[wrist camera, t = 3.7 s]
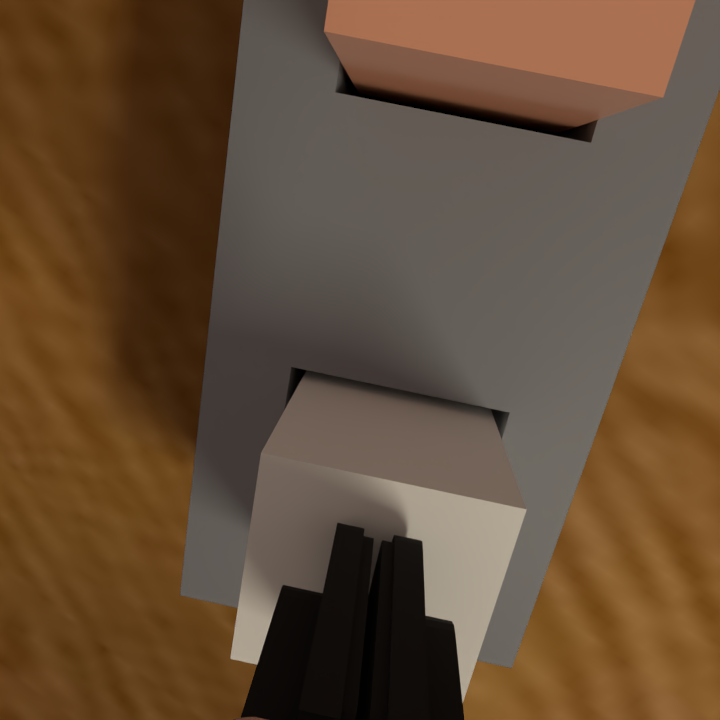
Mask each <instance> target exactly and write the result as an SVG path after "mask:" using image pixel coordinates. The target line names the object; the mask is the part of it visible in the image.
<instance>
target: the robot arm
mask: <svg viewBox="0 0 720 720" xmlns="http://www.w3.org/2000/svg"><path fill="white" fill-rule="evenodd" d="M373 543H374V538H370V537H365V536H364V528H360V527H356V526H351V525H346V524H342V523H337V527H336V532H335V536H334V541H333V546H332V551H331V556H330V561H329V565H328V570H327V575H326V580H325V585H324V589H323V593H319V592H314V591H310V590H305V589H300V588H296V587H291V586H286V585H283V586H282V588H281V591H280V594H279V597H278V600H277V603H276V607H275V610H274V613H273V616H272V619H271V623H270V626H269V629H268V632H267V635H266V639H265V642H264V645H263V648H262V651H261V655H260V658H259V661H258V664H257V667H256V671H255V674H254V677H253V680H252V684H251V687H250V690H249V693H248V696H247V700H246V703H245V706H244V709H243V712H242V716H241V718H237V719H234V720H464V713H463V703H462V694H461V684H460V674H459V664H458V655H457V645H456V635H455V628H454V624H453V622H452V621H448V620H444V619H439V618H435V617H430V616H425V590H424V564H423V543H422V541H421V540H417V539H412V538H407V537H403V536H398V535H394V536H393V539H392V542H389V541H384V540H382V542H381V545H380V549H379V554H378V558H377V562H376V566H375V570H374V574H373V579H372V583H371V587H370V591H369V584H370V574H371V563H372V553H373ZM368 594H369V595H368Z"/></svg>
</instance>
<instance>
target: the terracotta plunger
mask: <svg viewBox="0 0 720 720" xmlns="http://www.w3.org/2000/svg"><path fill="white" fill-rule="evenodd" d="M694 3H695V0H328V7H327V13H326V20H325V27H324V33H325V34H326V36H327V38H328V40H329V41H330V43H331V45H332V47H333V49H334V50H335V52H336V54H337V56H338V57H339V59H340V61H341V63H342V65H343V66H344V68H345V70H346V72H347V73H348V75H349V77H350V79H351V80H352V82H353V84H354V86H355V88H356V89H357V91H358V93H359V94H361V95H366V96H371V97H376V98H382V99H387V100H392V101H397V102H402V103H407V104H412V105H417V106H422V107H427V108H432V109H437V110H442V111H447V112H452V113H458V114H463V115H468V116H473V117H478V118H483V119H488V120H493V121H498V122H503V123H508V124H513V125H518V126H523V127H529V128H534V129H539V130H544V131H549V132H554V133H560V132H563V131H566V130H569V129H572V128H575V127H578V126H581V125H584V124H587V123H589V122H592V121H595V120H598V119H601V118H604V117H607V116H610V115H613V114H616V113H619V112H622V111H625V110H628V109H631V108H634V107H637V106H640V105H643V104H646V103H649V102H652V101H655V100H657V99H660V98H663V97H664V94H665V91H666V88H667V85H668V82H669V79H670V76H671V73H672V70H673V67H674V64H675V61H676V58H677V55H678V52H679V49H680V46H681V43H682V40H683V37H684V34H685V30H686V27H687V24H688V21H689V18H690V15H691V12H692V9H693V6H694Z"/></svg>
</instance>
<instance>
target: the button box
mask: <svg viewBox="0 0 720 720" xmlns="http://www.w3.org/2000/svg"><path fill="white" fill-rule="evenodd" d="M327 7H328V0H244V2H243V11H242V21H241V30H240V39H239V49H238V58H237V67H236V77H235V86H234V95H233V105H232V114H231V123H230V133H229V142H228V152H227V161H226V170H225V180H224V189H223V198H222V208H221V217H220V226H219V236H218V245H217V254H216V264H215V273H214V283H213V292H212V301H211V311H210V320H209V329H208V339H207V348H206V357H205V367H204V376H203V385H202V395H201V404H200V413H199V423H198V432H197V442H196V451H195V460H194V470H193V479H192V488H191V498H190V507H189V516H188V526H187V535H186V544H185V554H184V563H183V573H182V582H181V591H180V595H181V596H185V597H190V598H195V599H199V600H204V601H208V602H213V603H217V604H222V605H226V606H231V607H236V608H238V604H239V597H240V590H241V584H242V577H243V570H244V564H245V557H246V550H247V543H248V537H249V530H250V523H251V517H252V510H253V503H254V496H255V490H256V483H257V476H258V470H259V463H260V456H261V452H262V450H263V448H264V447H265V445H266V443H267V441H268V439H269V437H270V436H271V434H272V432H273V430H274V428H275V427H276V425H277V423H278V421H279V419H280V417H281V416H282V414H283V412H284V410H285V408H286V407H287V405H288V403H289V401H290V399H291V398H292V396H293V394H294V392H295V390H296V388H297V387H298V385H299V383H300V381H301V379H302V378H303V376H304V374H305V372H306V370H308V371H313V372H318V373H323V374H328V375H332V376H337V377H342V378H347V379H352V380H356V381H361V382H366V383H371V384H375V385H380V386H385V387H390V388H395V389H399V390H404V391H409V392H414V393H418V394H423V395H428V396H433V397H438V398H442V399H447V400H452V401H457V402H462V403H466V404H471V405H476V406H481V407H485V408H490V409H491V411H492V414H493V417H494V420H495V422H496V425H497V428H498V431H499V434H500V436H501V439H502V442H503V445H504V448H505V450H506V453H507V456H508V459H509V461H510V464H511V467H512V470H513V473H514V475H515V478H516V481H517V484H518V486H519V489H520V492H521V495H522V498H523V500H524V503H525V506H526V509H527V510H526V513H525V516H524V519H523V522H522V525H521V528H520V531H519V535H518V538H517V541H516V544H515V547H514V550H513V553H512V556H511V559H510V562H509V565H508V568H507V571H506V574H505V577H504V580H503V583H502V586H501V589H500V592H499V595H498V598H497V601H496V604H495V607H494V610H493V613H492V616H491V619H490V622H489V625H488V628H487V631H486V634H485V637H484V640H483V643H482V646H481V649H480V652H479V655H478V658H477V661H482V662H486V663H491V664H495V665H500V666H504V667H509V668H512V666H513V663H514V660H515V657H516V655H517V652H518V649H519V646H520V643H521V641H522V638H523V635H524V632H525V630H526V627H527V624H528V621H529V618H530V616H531V613H532V610H533V607H534V605H535V602H536V599H537V596H538V593H539V591H540V588H541V585H542V582H543V579H544V577H545V574H546V571H547V568H548V566H549V563H550V560H551V557H552V554H553V552H554V549H555V546H556V543H557V540H558V538H559V535H560V532H561V529H562V527H563V524H564V521H565V518H566V515H567V513H568V510H569V507H570V504H571V501H572V499H573V496H574V493H575V490H576V488H577V485H578V482H579V479H580V476H581V474H582V471H583V468H584V465H585V463H586V460H587V457H588V454H589V451H590V449H591V446H592V443H593V440H594V437H595V435H596V432H597V429H598V426H599V424H600V421H601V418H602V415H603V412H604V410H605V407H606V404H607V401H608V398H609V396H610V393H611V390H612V387H613V385H614V382H615V379H616V376H617V373H618V371H619V368H620V365H621V362H622V359H623V357H624V354H625V351H626V348H627V346H628V343H629V340H630V337H631V334H632V332H633V329H634V326H635V323H636V321H637V318H638V315H639V312H640V309H641V307H642V304H643V301H644V298H645V295H646V293H647V290H648V287H649V284H650V282H651V279H652V276H653V273H654V270H655V268H656V265H657V262H658V259H659V256H660V254H661V251H662V248H663V245H664V243H665V240H666V237H667V234H668V231H669V229H670V226H671V223H672V220H673V217H674V215H675V212H676V209H677V206H678V204H679V201H680V198H681V195H682V192H683V190H684V187H685V184H686V181H687V178H688V176H689V173H690V170H691V167H692V165H693V162H694V159H695V156H696V153H697V151H698V148H699V145H700V142H701V140H702V137H703V134H704V131H705V128H706V126H707V123H708V120H709V117H710V114H711V112H712V109H713V106H714V103H715V101H716V98H717V95H718V92H719V89H720V0H695V3H694V6H693V9H692V12H691V15H690V18H689V21H688V24H687V27H686V30H685V34H684V37H683V40H682V43H681V46H680V49H679V52H678V55H677V58H676V61H675V64H674V67H673V70H672V73H671V76H670V79H669V82H668V85H667V88H666V91H665V94H664V97H663V98H660V99H657V100H655V101H652V102H649V103H646V104H643V105H640V106H637V107H634V108H631V109H628V110H625V111H622V112H619V113H616V114H613V115H610V116H607V117H604V118H601V119H598V120H595V121H592V122H589V123H587V124H584V125H581V126H578V127H575V128H572V129H569V130H566V131H563V132H560V133H554V132H549V131H544V130H539V132H534V131H529V130H524V129H518V128H513V127H508V126H503V125H498V124H493V123H488V122H483V121H478V120H473V119H468V118H463V117H458V116H453V115H448V114H442V113H437V112H432V111H427V110H422V109H417V108H412V107H407V106H402V105H397V104H392V103H387V102H382V101H377V100H372V99H366V98H363V96H364V95H361V94H359V93H358V91H357V89H356V88H355V86H354V84H353V82H352V80H351V79H350V77H349V75H348V73H347V72H346V70H345V68H344V66H343V65H342V63H341V61H340V59H339V57H338V56H337V54H336V52H335V50H334V49H333V47H332V45H331V43H330V41H329V40H328V38H327V36H326V34H325V33H324V27H325V20H326V13H327Z"/></svg>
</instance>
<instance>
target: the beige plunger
mask: <svg viewBox="0 0 720 720" xmlns="http://www.w3.org/2000/svg"><path fill="white" fill-rule="evenodd" d="M526 510H527V509H526V506H525V503H524V500H523V498H522V495H521V492H520V489H519V486H518V484H517V481H516V478H515V475H514V473H513V470H512V467H511V464H510V461H509V459H508V456H507V453H506V450H505V448H504V445H503V442H502V439H501V436H500V434H499V431H498V428H497V425H496V422H495V420H494V417H493V414H492V411H491V409H490V408H485V407H481V406H476V405H471V404H466V403H462V402H457V401H452V400H447V399H442V398H438V397H433V396H428V395H423V394H418V393H414V392H409V391H404V390H399V389H395V388H390V387H385V386H380V385H375V384H371V383H366V382H361V381H356V380H352V379H347V378H342V377H337V376H332V375H328V374H323V373H318V372H313V371H308V370H306V372H305V374H304V376H303V378H302V379H301V381H300V383H299V385H298V387H297V388H296V390H295V392H294V394H293V396H292V398H291V399H290V401H289V403H288V405H287V407H286V408H285V410H284V412H283V414H282V416H281V417H280V419H279V421H278V423H277V425H276V427H275V428H274V430H273V432H272V434H271V436H270V437H269V439H268V441H267V443H266V445H265V447H264V448H263V450H262V452H261V456H260V463H259V470H258V476H257V483H256V490H255V496H254V503H253V510H252V517H251V523H250V530H249V537H248V543H247V550H246V557H245V564H244V570H243V577H242V584H241V590H240V597H239V604H238V611H237V617H236V624H235V631H234V637H233V644H232V651H231V658H230V659H234V660H238V661H243V662H247V663H252V664H256V665H257V664H258V661H259V658H260V655H261V651H262V648H263V645H264V642H265V639H266V635H267V632H268V629H269V626H270V623H271V619H272V616H273V613H274V610H275V607H276V603H277V600H278V597H279V594H280V591H281V588H282V586H283V585H286V586H291V587H296V588H300V589H305V590H310V591H314V592H319V593H323V589H324V585H325V580H326V575H327V570H328V565H329V561H330V556H331V551H332V546H333V541H334V536H335V532H336V527H337V523H342V524H346V525H351V526H356V527H360V528H364V536H365V537H370V538H374V543H373V553H372V563H371V574H370V584H369V591H370V587H371V583H372V579H373V574H374V570H375V566H376V562H377V558H378V554H379V549H380V545H381V542H382V540H384V541H389V542H392V539H393V536H394V535H398V536H403V537H407V538H412V539H417V540H421V541H422V543H423V564H424V590H425V616H430V617H435V618H439V619H444V620H448V621H452V622H453V624H454V628H455V635H456V645H457V655H458V664H459V674H460V684H461V694H462V703H463V701H464V697H465V694H466V691H467V688H468V685H469V682H470V679H471V676H472V673H473V670H474V667H475V664H476V661H477V658H478V655H479V652H480V649H481V646H482V643H483V640H484V637H485V634H486V631H487V628H488V625H489V622H490V619H491V616H492V613H493V610H494V607H495V604H496V601H497V598H498V595H499V592H500V589H501V586H502V583H503V580H504V577H505V574H506V571H507V568H508V565H509V562H510V559H511V556H512V553H513V550H514V547H515V544H516V541H517V538H518V535H519V531H520V528H521V525H522V522H523V519H524V516H525V513H526ZM368 595H369V594H368Z"/></svg>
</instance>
